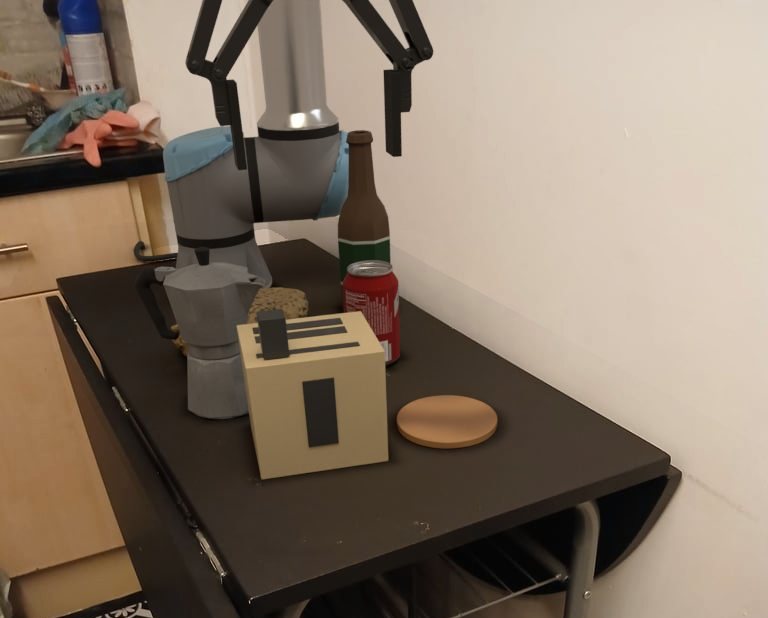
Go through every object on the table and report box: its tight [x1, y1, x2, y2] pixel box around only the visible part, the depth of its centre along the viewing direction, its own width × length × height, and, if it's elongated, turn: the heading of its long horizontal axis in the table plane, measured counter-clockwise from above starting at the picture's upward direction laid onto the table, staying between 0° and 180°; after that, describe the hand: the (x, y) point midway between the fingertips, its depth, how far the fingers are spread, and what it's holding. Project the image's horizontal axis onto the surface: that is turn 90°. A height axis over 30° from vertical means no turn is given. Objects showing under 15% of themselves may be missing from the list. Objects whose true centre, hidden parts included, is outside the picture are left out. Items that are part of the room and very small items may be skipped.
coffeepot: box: [134, 247, 265, 420], centre depth 88 cm, size 15×9×18 cm, turn 74°
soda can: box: [343, 260, 401, 367], centre depth 98 cm, size 7×7×12 cm
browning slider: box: [257, 309, 290, 360], centre depth 73 cm, size 2×2×4 cm
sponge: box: [170, 286, 310, 358], centre depth 105 cm, size 13×8×20 cm
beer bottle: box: [337, 129, 392, 313], centre depth 110 cm, size 8×8×24 cm
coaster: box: [396, 394, 498, 450], centre depth 87 cm, size 11×11×1 cm
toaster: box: [237, 311, 389, 481], centre depth 81 cm, size 11×13×12 cm
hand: (318, 160), depth 69 cm, fingers open, 13 cm apart
